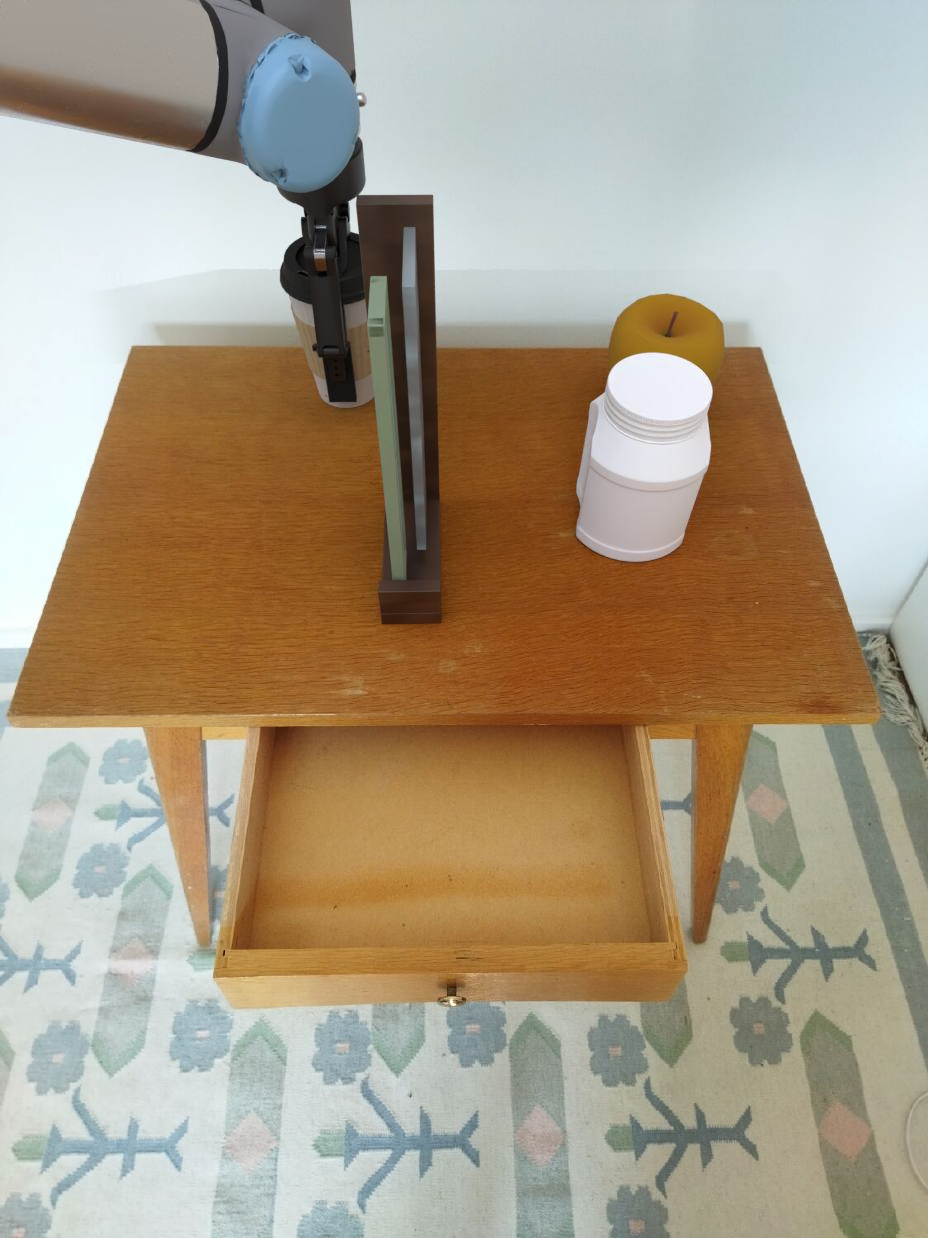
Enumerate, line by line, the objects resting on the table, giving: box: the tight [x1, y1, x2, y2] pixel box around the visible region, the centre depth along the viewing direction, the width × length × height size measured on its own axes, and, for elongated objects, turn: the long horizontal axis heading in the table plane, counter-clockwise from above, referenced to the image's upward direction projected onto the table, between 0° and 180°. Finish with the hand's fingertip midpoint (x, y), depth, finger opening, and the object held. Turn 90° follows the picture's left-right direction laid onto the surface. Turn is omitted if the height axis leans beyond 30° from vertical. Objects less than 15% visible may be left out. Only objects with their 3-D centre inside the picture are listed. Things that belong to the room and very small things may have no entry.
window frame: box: [355, 194, 442, 625], centre depth 61 cm, size 5×14×29 cm, turn 1°
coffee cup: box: [279, 231, 374, 409], centre depth 81 cm, size 10×10×15 cm
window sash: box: [367, 276, 407, 580], centre depth 59 cm, size 1×5×26 cm, turn 2°
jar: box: [575, 353, 714, 563], centre depth 70 cm, size 12×10×15 cm
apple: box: [607, 293, 726, 389], centre depth 79 cm, size 11×11×13 cm
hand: (345, 369), depth 85 cm, fingers closed on coffee cup, 9 cm apart
